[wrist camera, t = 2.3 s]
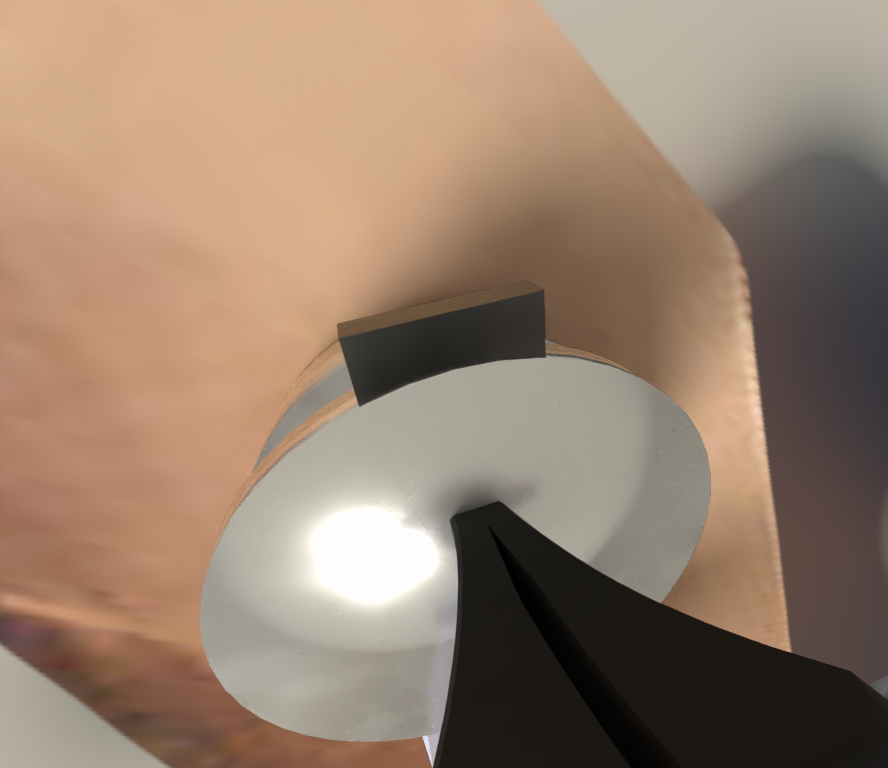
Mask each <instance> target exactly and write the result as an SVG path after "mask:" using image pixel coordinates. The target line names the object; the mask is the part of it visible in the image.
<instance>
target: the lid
mask: <svg viewBox="0 0 888 768" xmlns="http://www.w3.org/2000/svg"><path fill="white" fill-rule="evenodd" d="M337 329H338V338H339V341H340V345H341V348H342V351H343V355H344V358H345V362H346V365H347V368H348V372H349V375H350V378H351V382H352V385H353V389H351V390H349V391H348V392H346V393H345V394H343V395H341V396H340V397H338V398H336V399H335V400H333V401H331V402H330V403H328V404H326V405H325V406H323V407H322V408H320V409H319V410H318V411H316V412H315V413H314V414H313V415H311V416H310V417H309V418H307V419H306V420H305V421H304V422H302V423H301V424H300V425H299V426H297V427H296V428H295V429H293V430H292V431H291V432H290V433H288V434H287V435H286V436H285V437H284V438H283V439H282V441H281V442H280V443H279V444H278V445H277V446H276V447H275V448H274V449H273V450H272V451H271V452H270V453H269V454H268V455H267V456H266V457H265V458H264V459H263V460H262V461H261V462H260V463H259V464H258V466H257V467H256V469H255V470H254V471H253V473H252V474H251V475H250V477H249V478H248V479H247V481H246V482H245V483H244V485H243V486H242V487H241V489H240V490H239V492H238V493H237V495H236V497H235V499H234V501H233V503H232V505H231V506H230V508H229V510H228V512H227V514H226V516H225V518H224V520H223V522H222V524H221V527H220V531H219V534H218V537H217V540H216V543H215V546H214V550H213V553H212V556H211V560H210V563H209V567H208V571H207V574H206V578H205V581H204V585H203V588H202V596H201V606H200V616H199V621H200V630H201V638H202V645H203V648H204V651H205V654H206V656H207V659H208V662H209V664H210V667H211V669H212V671H213V672H214V674H215V675H216V677H217V678H218V680H219V681H220V683H221V684H222V686H223V687H224V689H225V690H226V691H227V692H228V693H230V694H231V695H232V696H233V697H234V698H235V699H236V700H237V701H238V702H239V703H240V704H241V705H242V706H244V707H245V708H247V709H248V710H250V711H251V712H253V713H254V714H256V715H257V716H259V717H260V718H262V719H264V720H266V721H269V722H271V723H273V724H275V725H277V726H279V727H282V728H284V729H288V730H291V731H294V732H298V733H301V734H304V735H308V736H314V737H319V738H325V739H331V740H343V741H356V742H357V741H389V740H400V739H409V738H416V737H422V736H428V735H433V734H438V733H440V731H441V727H442V722H443V717H444V712H445V706H446V701H447V695H448V688H449V682H450V675H451V668H452V661H453V653H454V644H455V634H456V622H457V600H458V568H457V552H456V547H455V543H454V539H453V534H452V530H451V525H450V519H451V518H452V517H453V515H457V514H460V513H463V512H466V511H469V510H472V509H475V508H479V507H482V506H485V505H488V504H491V503H494V502H497V501H500V502H502V503H504V504H505V505H506V506H507V507H508V508H510V509H511V510H512V511H513V512H514V513H516V514H517V515H518V516H519V517H521V518H522V519H523V520H525V521H526V522H527V523H528V524H530V525H531V526H532V527H534V528H535V529H536V530H538V531H539V532H540V533H542V534H543V535H545V536H546V537H547V538H549V539H550V540H552V541H553V542H555V543H556V544H557V545H559V546H560V547H562V548H563V549H565V550H566V551H568V552H569V553H571V554H572V555H574V556H575V557H577V558H578V559H580V560H582V561H583V562H585V563H587V564H588V565H590V566H591V567H593V568H595V569H596V570H598V571H600V572H601V573H603V574H605V575H607V576H608V577H610V578H612V579H614V580H616V581H617V582H619V583H621V584H623V585H625V586H627V587H629V588H631V589H633V590H634V591H636V592H638V593H640V594H642V595H644V596H646V597H648V598H651V599H653V600H655V601H657V602H659V603H661V602H662V601H663V600H664V598H665V597H666V596H667V595H668V593H669V592H670V590H671V589H672V588H673V586H674V585H675V583H676V582H677V581H678V579H679V578H680V576H681V574H682V573H683V571H684V569H685V568H686V566H687V564H688V562H689V561H690V559H691V557H692V555H693V553H694V551H695V548H696V546H697V544H698V542H699V539H700V537H701V534H702V531H703V528H704V524H705V521H706V518H707V513H708V507H709V502H710V496H711V473H710V467H709V461H708V456H707V451H706V449H705V446H704V444H703V441H702V439H701V436H700V434H699V432H698V430H697V429H696V427H695V426H694V424H693V423H692V421H691V420H690V418H689V417H688V415H687V414H686V412H685V411H684V410H682V409H681V408H680V407H679V406H678V405H677V404H676V403H675V402H674V401H673V400H672V399H671V398H670V397H669V396H668V395H666V394H665V393H663V392H662V391H660V390H659V389H657V388H656V387H654V386H653V385H651V384H649V383H648V382H646V381H645V380H643V379H642V378H640V377H639V376H637V375H636V374H634V373H632V372H631V371H629V370H628V369H626V368H624V367H623V366H621V365H620V364H618V363H616V362H613V361H611V360H608V359H606V358H603V357H601V356H599V355H596V354H594V353H591V352H587V351H583V350H578V349H574V348H570V347H565V346H561V345H552V344H545V307H544V290H543V289H542V288H540V287H538V286H536V285H534V284H532V283H530V282H528V281H527V280H525V281H521V282H517V283H512V284H508V285H504V286H499V287H495V288H491V289H486V290H482V291H478V292H473V293H469V294H465V295H460V296H456V297H452V298H447V299H443V300H439V301H434V302H430V303H426V304H421V305H417V306H413V307H408V308H404V309H400V310H395V311H391V312H387V313H382V314H378V315H374V316H369V317H365V318H361V319H356V320H352V321H348V322H343V323H339V324H337Z"/></svg>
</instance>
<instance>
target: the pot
mask: <svg viewBox="0 0 888 768" xmlns="http://www.w3.org/2000/svg"><path fill="white" fill-rule="evenodd" d="M545 344H552V345H558V344H556V343H553V342H551V341H549V340H546V339H545ZM351 389H353V385H352V382H351V378H350V375H349V372H348V368H347V365H346V362H345V358H344V355H343V351H342V348H341V345H340V341H339V340H338V341H337V342H335V343H334V344H332V345H331V346H330V347H329V348H328V349H326V350H325V351H324V352H323V353H322V354H320V355H319V356H318V357H317V358H316V359H315V360H314V361H313V362H312V363H311V364H310V365H309V366H308V367H307V368H306V369H305V371H304V372H303V373H302V374H301V375H300V376H299V378H298V379H297V380H296V382H295V383H294V385H293V386H292V388H291V389H290V390H289V392H288V393H287V395H286V397H285V399H284V401H283V403H282V405H281V407H280V409H279V411H278V413H277V415H276V417H275V419H274V422H273V424H272V427H271V429H270V431H269V434H268V436H267V439H266V441H265V443H264V446H263V448H262V450H261V453H260V455H259V458H258V460H257V462H256V465H255V467H254V470H255V469H256V467H257V466H258V464H259V463H260V462H261V461H262V460H263V459H264V458H265V457H266V456H267V455H268V454H269V453H270V452H271V451H272V450H273V449H274V448H275V447H276V446H277V445H278V444H279V443H280V442H281V441H282V439H283V438H284V437H285V436H286V435H287V434H288V433H290V432H291V431H292V430H293V429H295V428H296V427H297V426H299V425H300V424H301V423H302V422H304V421H305V420H306V419H307V418H309V417H310V416H311V415H313V414H314V413H315V412H316V411H318V410H319V409H320V408H322V407H323V406H325V405H326V404H328V403H330V402H331V401H333V400H335V399H336V398H338V397H340V396H341V395H343V394H345V393H346V392H348V391H349V390H351ZM254 470H253V471H254ZM252 473H253V472H252Z"/></svg>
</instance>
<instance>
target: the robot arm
mask: <svg viewBox="0 0 888 768" xmlns="http://www.w3.org/2000/svg"><path fill="white" fill-rule="evenodd" d="M450 525H451V530H452V534H453V539H454V543H455V547H456V552H457V568H458V600H457V622H456V634H455V644H454V653H453V661H452V668H451V675H450V682H449V688H448V695H447V701H446V706H445V712H444V717H443V722H442V727H441V731H440V733H438V734H433V735H428V736H422V737H423V740H424V743H425V746H426V749H427V752H428V755H429V758H430V762H431V765H432V768H888V700H887V699H886V698H885V697H883V696H882V695H881V694H879V693H878V692H877V691H876V690H874V689H873V688H872V687H870V686H869V685H868V684H866V683H865V682H864V681H862V680H861V679H860V678H858V677H857V676H856V675H854V674H853V673H852V672H851V671H848V670H845V669H842V668H838V667H835V666H832V665H829V664H825V663H822V662H819V661H816V660H812V659H809V658H806V657H803V656H799V655H796V654H793V653H790V652H786V651H783V650H780V649H777V648H773V647H770V646H767V645H765V644H762V643H759V642H756V641H753V640H751V639H748V638H745V637H742V636H740V635H737V634H734V633H731V632H729V631H726V630H723V629H720V628H718V627H715V626H713V625H710V624H708V623H705V622H703V621H701V620H698V619H696V618H694V617H691V616H689V615H687V614H684V613H682V612H680V611H677V610H675V609H673V608H670V607H668V606H666V605H663V604H661V603H659V602H657V601H655V600H653V599H651V598H648V597H646V596H644V595H642V594H640V593H638V592H636V591H634V590H633V589H631V588H629V587H627V586H625V585H623V584H621V583H619V582H617V581H616V580H614V579H612V578H610V577H608V576H607V575H605V574H603V573H601V572H600V571H598V570H596V569H595V568H593V567H591V566H590V565H588V564H587V563H585V562H583V561H582V560H580V559H578V558H577V557H575V556H574V555H572V554H571V553H569V552H568V551H566V550H565V549H563V548H562V547H560V546H559V545H557V544H556V543H555V542H553V541H552V540H550V539H549V538H547V537H546V536H545V535H543V534H542V533H540V532H539V531H538V530H536V529H535V528H534V527H532V526H531V525H530V524H528V523H527V522H526V521H525V520H523V519H522V518H521V517H519V516H518V515H517V514H516V513H514V512H513V511H512V510H511V509H510V508H508V507H507V506H506V505H505V504H504V503H502V502H500V501H497V502H494V503H491V504H488V505H485V506H482V507H479V508H475V509H472V510H469V511H466V512H463V513H460V514H457V515H453V517H452V518H451V519H450Z"/></svg>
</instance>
